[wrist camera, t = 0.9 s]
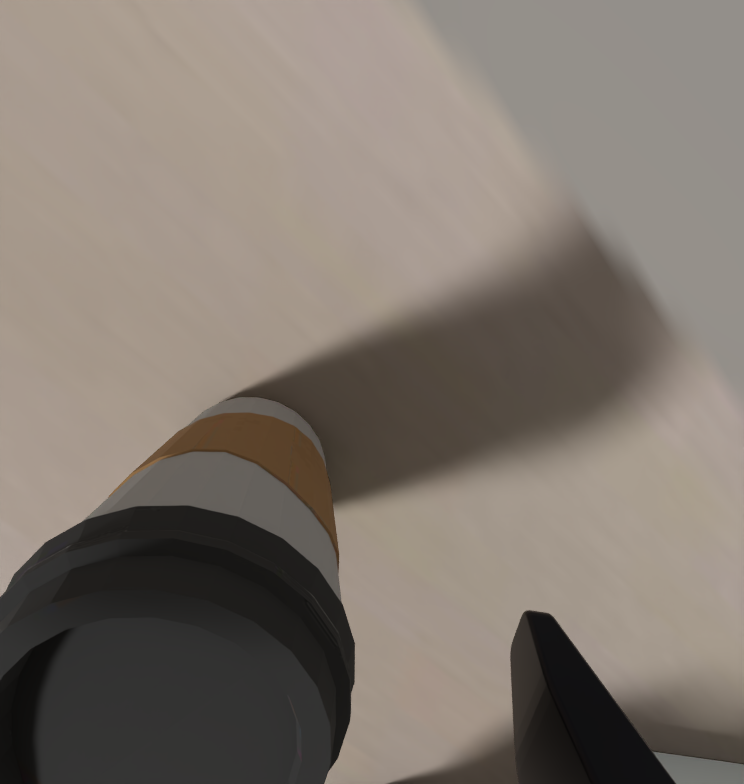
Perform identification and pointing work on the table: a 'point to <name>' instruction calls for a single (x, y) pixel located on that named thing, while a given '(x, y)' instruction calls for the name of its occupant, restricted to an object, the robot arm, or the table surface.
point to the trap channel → (701, 770)
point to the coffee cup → (186, 620)
